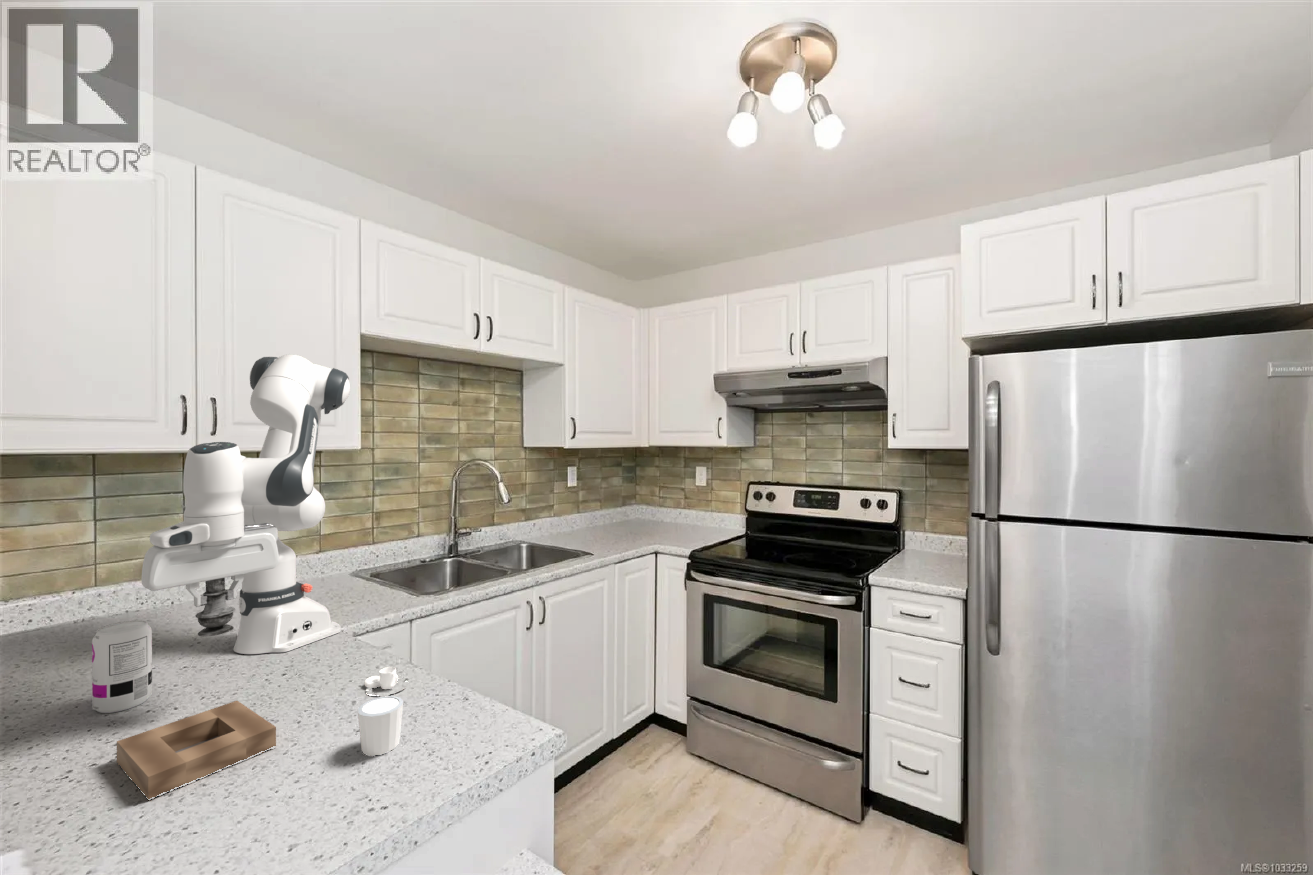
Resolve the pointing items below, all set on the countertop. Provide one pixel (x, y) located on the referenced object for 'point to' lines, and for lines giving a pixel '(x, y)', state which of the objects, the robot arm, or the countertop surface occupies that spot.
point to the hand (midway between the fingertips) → (215, 602)
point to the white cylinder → (380, 724)
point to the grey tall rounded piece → (215, 610)
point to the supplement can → (121, 666)
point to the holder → (193, 747)
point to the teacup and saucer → (382, 679)
